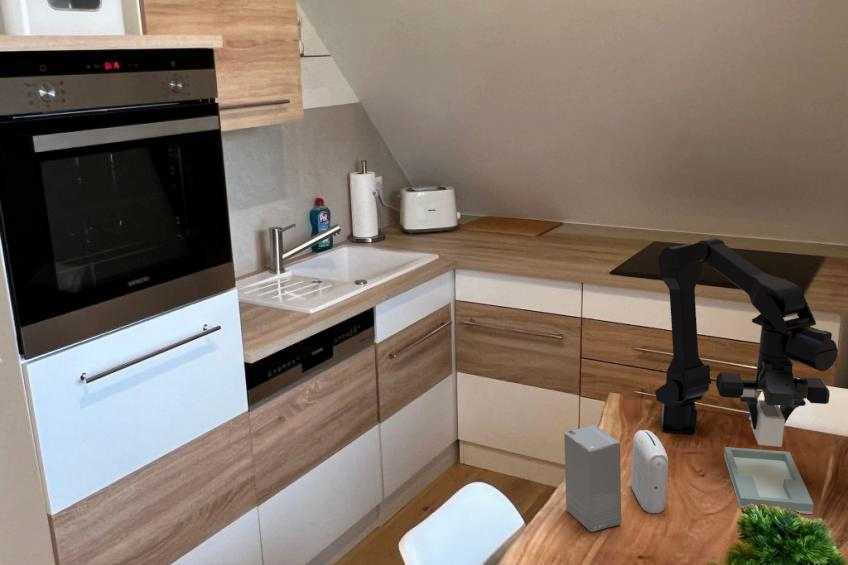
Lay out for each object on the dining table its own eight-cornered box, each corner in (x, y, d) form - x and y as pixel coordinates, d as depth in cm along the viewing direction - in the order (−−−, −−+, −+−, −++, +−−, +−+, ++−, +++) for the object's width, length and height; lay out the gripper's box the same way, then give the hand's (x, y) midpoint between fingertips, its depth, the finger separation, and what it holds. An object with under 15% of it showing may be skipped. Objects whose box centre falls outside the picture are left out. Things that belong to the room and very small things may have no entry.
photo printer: (667, 513, 144) (672, 450, 141) (643, 514, 144) (647, 451, 140) (650, 483, 154) (654, 423, 150) (627, 483, 154) (631, 424, 150)
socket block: (758, 444, 151) (761, 416, 149) (750, 425, 158) (753, 398, 157) (781, 446, 150) (785, 418, 148) (772, 426, 158) (775, 399, 156)
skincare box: (621, 525, 141) (626, 442, 136) (586, 535, 138) (590, 451, 134) (594, 501, 148) (598, 421, 144) (560, 509, 146) (563, 429, 141)
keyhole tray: (740, 507, 145) (741, 498, 145) (724, 455, 163) (725, 446, 163) (812, 514, 143) (813, 504, 143) (788, 460, 161) (789, 451, 160)
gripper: (728, 365, 144) (720, 445, 148) (843, 372, 140) (831, 454, 145) (719, 343, 154) (712, 418, 159) (826, 348, 150) (815, 425, 155)
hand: (766, 429), depth 154 cm, fingers closed on socket block, 4 cm apart
